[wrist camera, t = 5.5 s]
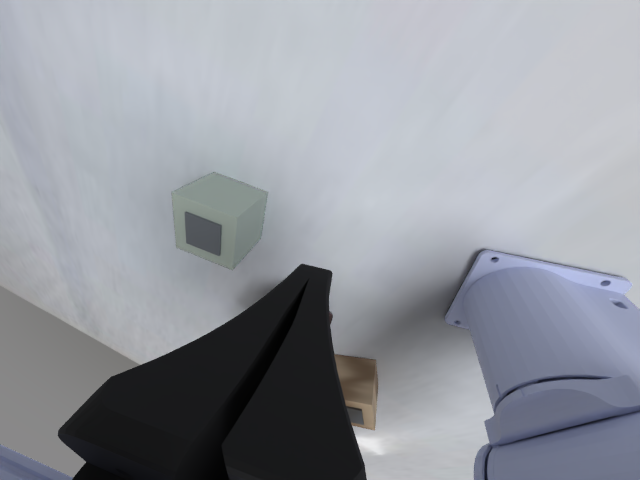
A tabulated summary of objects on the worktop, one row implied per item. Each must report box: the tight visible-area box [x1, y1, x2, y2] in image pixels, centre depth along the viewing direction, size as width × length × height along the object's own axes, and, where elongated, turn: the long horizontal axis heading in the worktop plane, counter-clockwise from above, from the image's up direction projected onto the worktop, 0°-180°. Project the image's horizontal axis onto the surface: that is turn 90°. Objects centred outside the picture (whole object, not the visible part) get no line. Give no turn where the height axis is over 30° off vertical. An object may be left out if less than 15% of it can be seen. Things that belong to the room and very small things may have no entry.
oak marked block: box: [334, 354, 378, 430], centre depth 29 cm, size 5×5×5 cm
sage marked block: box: [172, 172, 268, 270], centre depth 21 cm, size 5×5×5 cm
